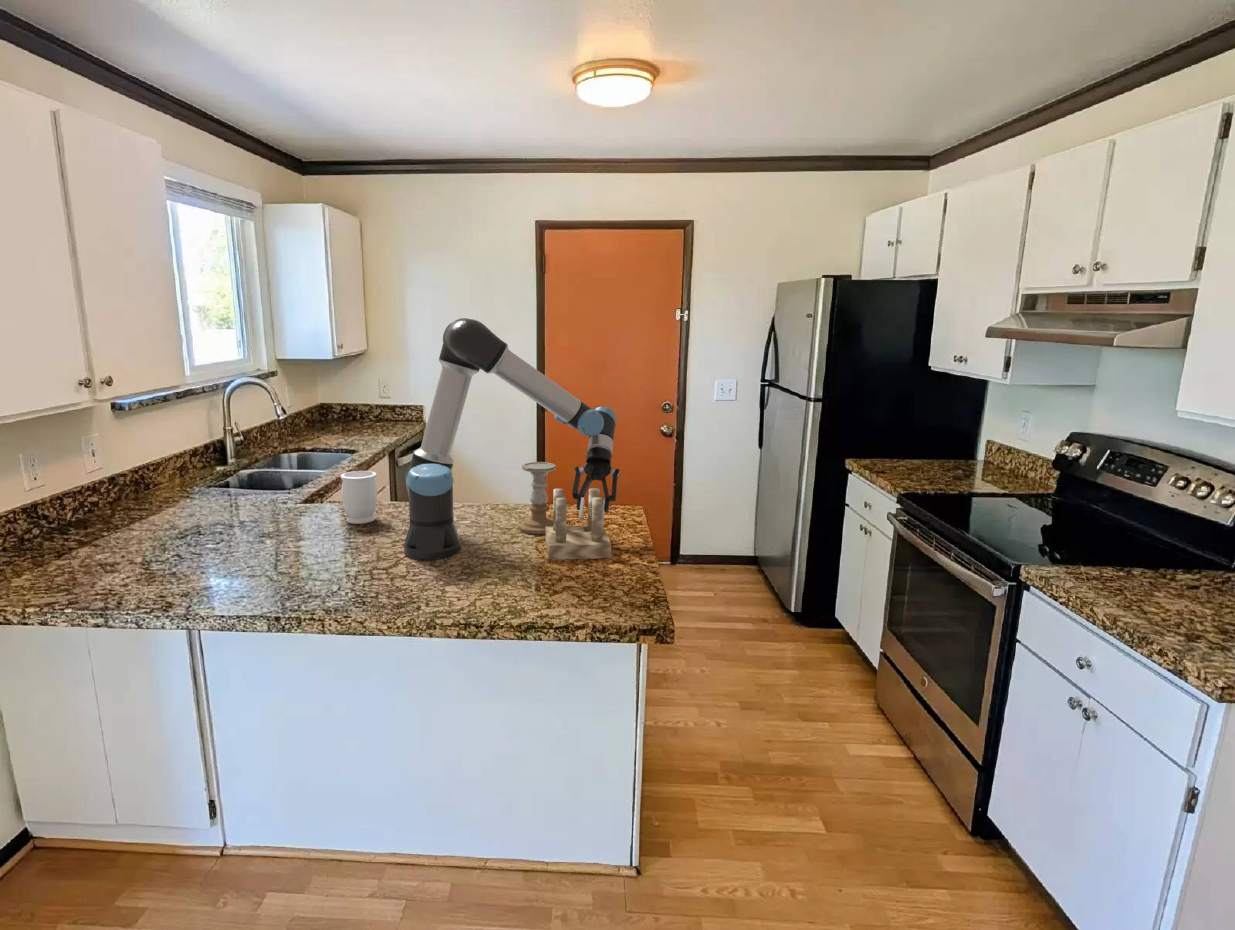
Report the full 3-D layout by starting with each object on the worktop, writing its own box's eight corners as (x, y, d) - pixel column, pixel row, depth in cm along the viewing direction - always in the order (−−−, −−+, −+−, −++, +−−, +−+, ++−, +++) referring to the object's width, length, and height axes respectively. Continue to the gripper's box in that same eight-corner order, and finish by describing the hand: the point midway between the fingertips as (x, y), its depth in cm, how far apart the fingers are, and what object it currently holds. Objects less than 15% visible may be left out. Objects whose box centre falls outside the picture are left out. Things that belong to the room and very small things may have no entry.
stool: (548, 559, 180) (549, 502, 176) (545, 539, 196) (545, 486, 193) (610, 557, 183) (612, 501, 179) (602, 538, 199) (603, 486, 195)
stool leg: (587, 543, 193) (589, 490, 190) (586, 540, 196) (588, 488, 193) (598, 543, 194) (600, 490, 190) (596, 540, 197) (599, 488, 193)
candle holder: (542, 537, 198) (542, 471, 193) (510, 529, 204) (510, 465, 200) (566, 527, 208) (567, 464, 204) (535, 520, 214) (535, 459, 210)
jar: (366, 526, 203) (364, 479, 199) (336, 523, 205) (333, 476, 201) (385, 517, 213) (383, 471, 210) (356, 514, 215) (353, 469, 212)
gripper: (630, 461, 204) (623, 528, 192) (571, 458, 206) (560, 524, 194) (629, 447, 198) (622, 515, 186) (568, 444, 200) (557, 511, 187)
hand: (591, 519), depth 190 cm, fingers open, 5 cm apart
